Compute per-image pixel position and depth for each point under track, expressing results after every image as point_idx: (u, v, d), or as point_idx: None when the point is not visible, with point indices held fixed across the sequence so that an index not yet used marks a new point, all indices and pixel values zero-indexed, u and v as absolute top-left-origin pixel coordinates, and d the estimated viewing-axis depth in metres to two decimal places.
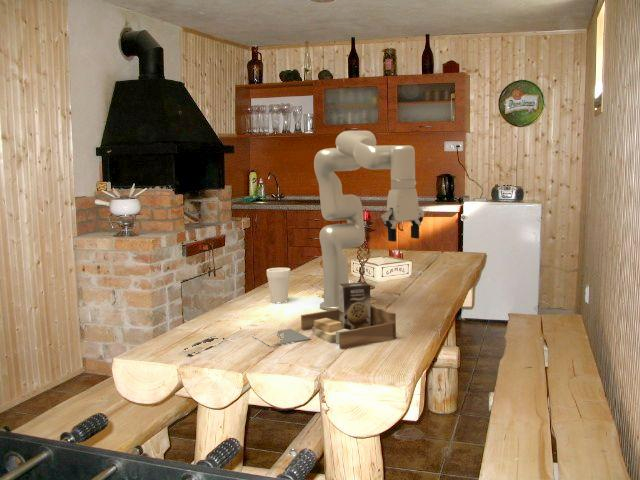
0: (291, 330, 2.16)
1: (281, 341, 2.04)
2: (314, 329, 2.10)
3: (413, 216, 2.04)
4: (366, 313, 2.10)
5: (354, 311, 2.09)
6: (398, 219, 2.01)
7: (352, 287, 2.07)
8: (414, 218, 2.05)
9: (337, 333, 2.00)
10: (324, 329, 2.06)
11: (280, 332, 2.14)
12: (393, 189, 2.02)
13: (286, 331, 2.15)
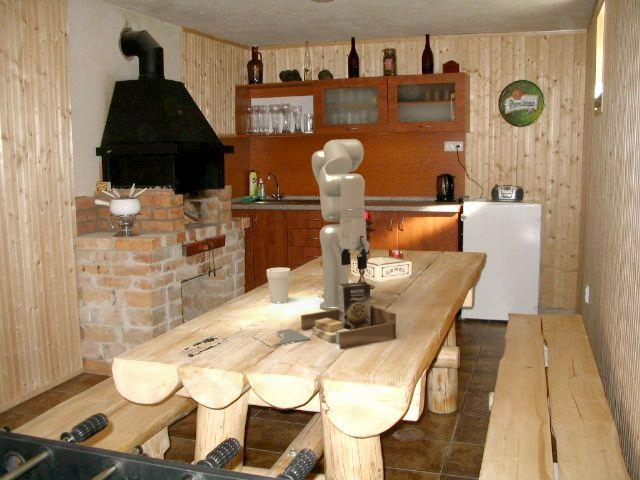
0: (291, 330, 2.16)
1: (281, 341, 2.04)
2: (314, 330, 2.10)
3: None
4: (366, 313, 2.10)
5: (354, 311, 2.09)
6: None
7: (352, 287, 2.07)
8: None
9: (337, 333, 2.00)
10: (325, 329, 2.06)
11: (280, 332, 2.14)
12: (358, 218, 2.04)
13: (286, 331, 2.15)
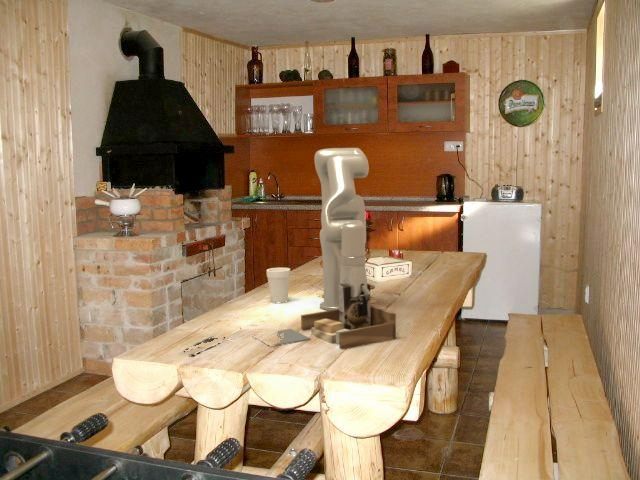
0: (291, 330, 2.16)
1: (281, 341, 2.04)
2: (313, 330, 2.10)
3: None
4: None
5: (354, 311, 2.09)
6: None
7: None
8: None
9: (337, 333, 2.00)
10: (325, 330, 2.05)
11: (280, 332, 2.14)
12: (359, 266, 2.06)
13: (286, 331, 2.15)
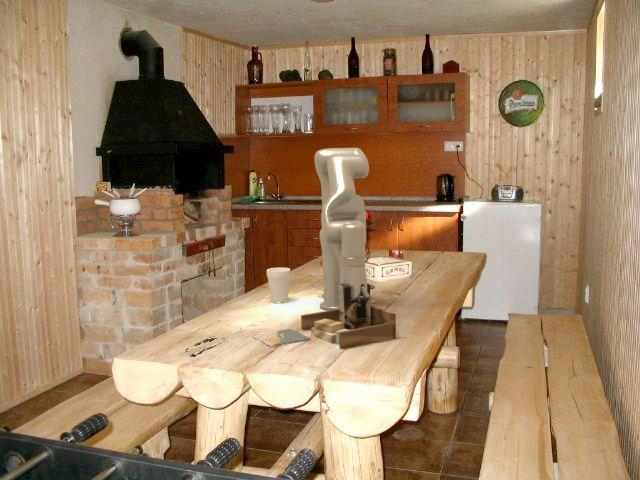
0: (291, 330, 2.16)
1: (281, 341, 2.04)
2: (313, 330, 2.10)
3: None
4: (366, 313, 2.10)
5: (354, 311, 2.09)
6: None
7: None
8: None
9: (337, 333, 2.00)
10: (326, 330, 2.05)
11: (280, 332, 2.14)
12: (359, 266, 2.07)
13: (286, 331, 2.15)
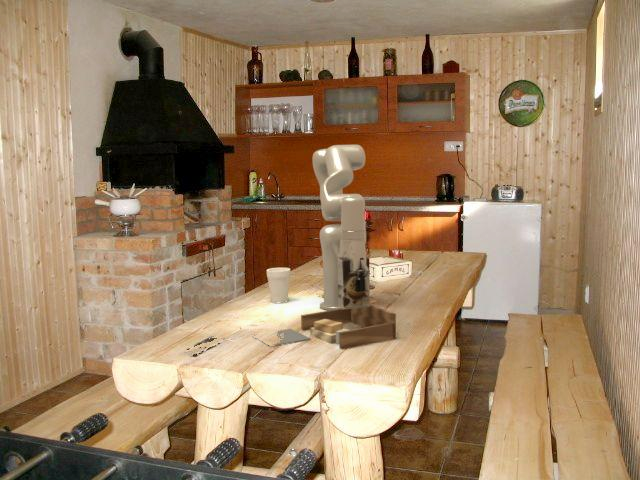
0: (291, 330, 2.16)
1: (281, 341, 2.04)
2: (312, 330, 2.10)
3: None
4: (365, 286, 2.09)
5: (353, 285, 2.08)
6: None
7: None
8: None
9: (337, 333, 2.00)
10: (325, 330, 2.05)
11: (280, 332, 2.14)
12: (358, 240, 2.06)
13: (286, 331, 2.15)
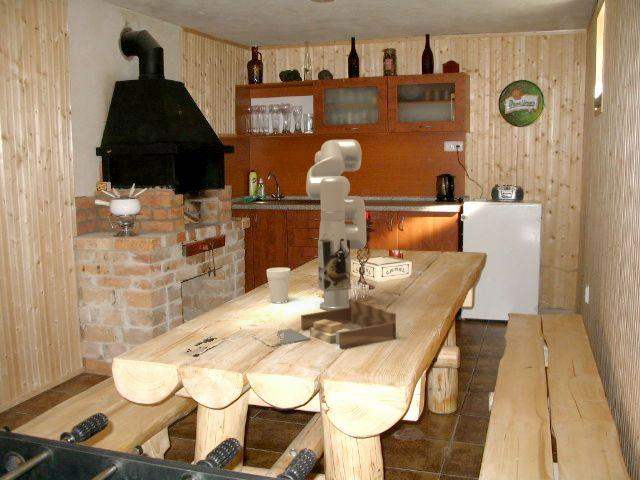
0: (291, 330, 2.16)
1: (281, 341, 2.04)
2: (312, 330, 2.10)
3: None
4: None
5: (334, 267, 2.05)
6: None
7: None
8: None
9: (337, 333, 2.00)
10: (325, 330, 2.05)
11: (280, 332, 2.14)
12: (338, 221, 2.04)
13: (286, 331, 2.15)
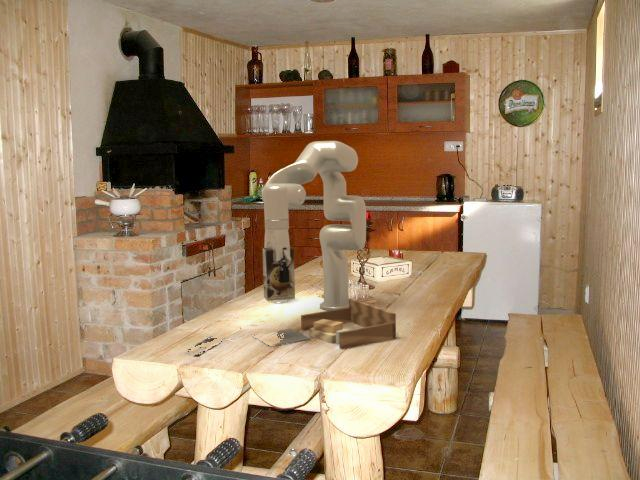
0: (291, 330, 2.16)
1: (281, 341, 2.04)
2: (312, 331, 2.09)
3: None
4: (289, 277, 2.04)
5: (277, 276, 2.03)
6: None
7: None
8: None
9: (337, 333, 2.00)
10: (327, 330, 2.05)
11: (280, 332, 2.14)
12: (281, 229, 2.01)
13: (286, 331, 2.15)
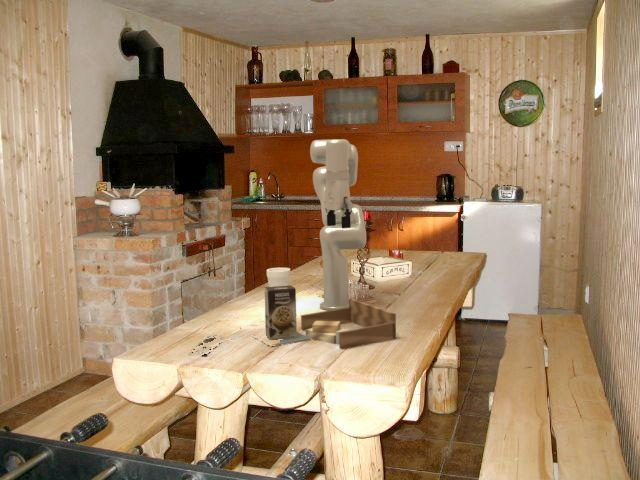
0: None
1: (281, 341, 2.04)
2: (309, 332, 2.08)
3: None
4: (291, 317, 2.06)
5: (279, 315, 2.05)
6: None
7: (276, 290, 2.04)
8: None
9: (337, 333, 2.00)
10: (329, 331, 2.04)
11: None
12: (342, 180, 2.17)
13: None
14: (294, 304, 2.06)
